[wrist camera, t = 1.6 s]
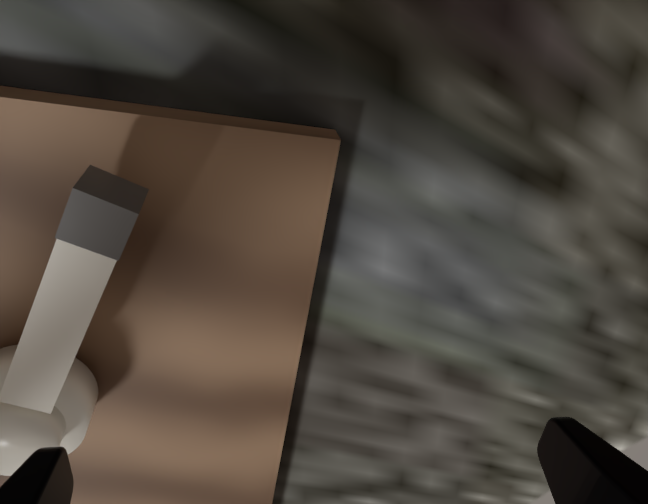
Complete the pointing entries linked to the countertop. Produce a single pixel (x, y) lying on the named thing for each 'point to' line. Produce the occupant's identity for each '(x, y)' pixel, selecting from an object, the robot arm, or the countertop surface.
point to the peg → (64, 322)
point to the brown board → (174, 286)
